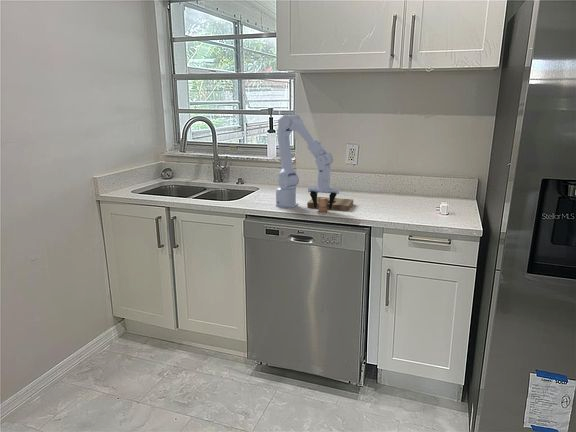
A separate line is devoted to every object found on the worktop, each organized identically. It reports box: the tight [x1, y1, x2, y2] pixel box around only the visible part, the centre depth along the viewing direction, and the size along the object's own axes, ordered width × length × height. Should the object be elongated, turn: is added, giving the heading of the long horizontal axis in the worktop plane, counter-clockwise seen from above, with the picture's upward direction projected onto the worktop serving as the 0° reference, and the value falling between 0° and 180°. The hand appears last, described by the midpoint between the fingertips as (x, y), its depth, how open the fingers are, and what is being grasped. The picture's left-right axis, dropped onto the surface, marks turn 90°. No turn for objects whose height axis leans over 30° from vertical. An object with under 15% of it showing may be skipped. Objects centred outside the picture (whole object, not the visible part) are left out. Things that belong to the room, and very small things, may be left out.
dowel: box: [318, 198, 328, 213], centre depth 200 cm, size 4×4×6 cm
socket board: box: [306, 196, 354, 212], centre depth 211 cm, size 20×14×2 cm
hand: (323, 207), depth 200 cm, fingers open, 7 cm apart
